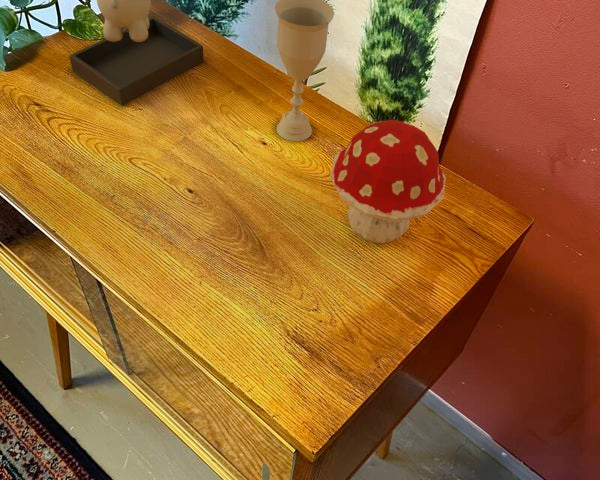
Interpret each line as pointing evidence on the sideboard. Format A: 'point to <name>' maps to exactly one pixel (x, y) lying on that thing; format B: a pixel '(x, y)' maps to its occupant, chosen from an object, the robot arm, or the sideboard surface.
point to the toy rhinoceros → (125, 18)
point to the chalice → (300, 54)
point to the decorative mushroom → (388, 179)
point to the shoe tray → (137, 61)
